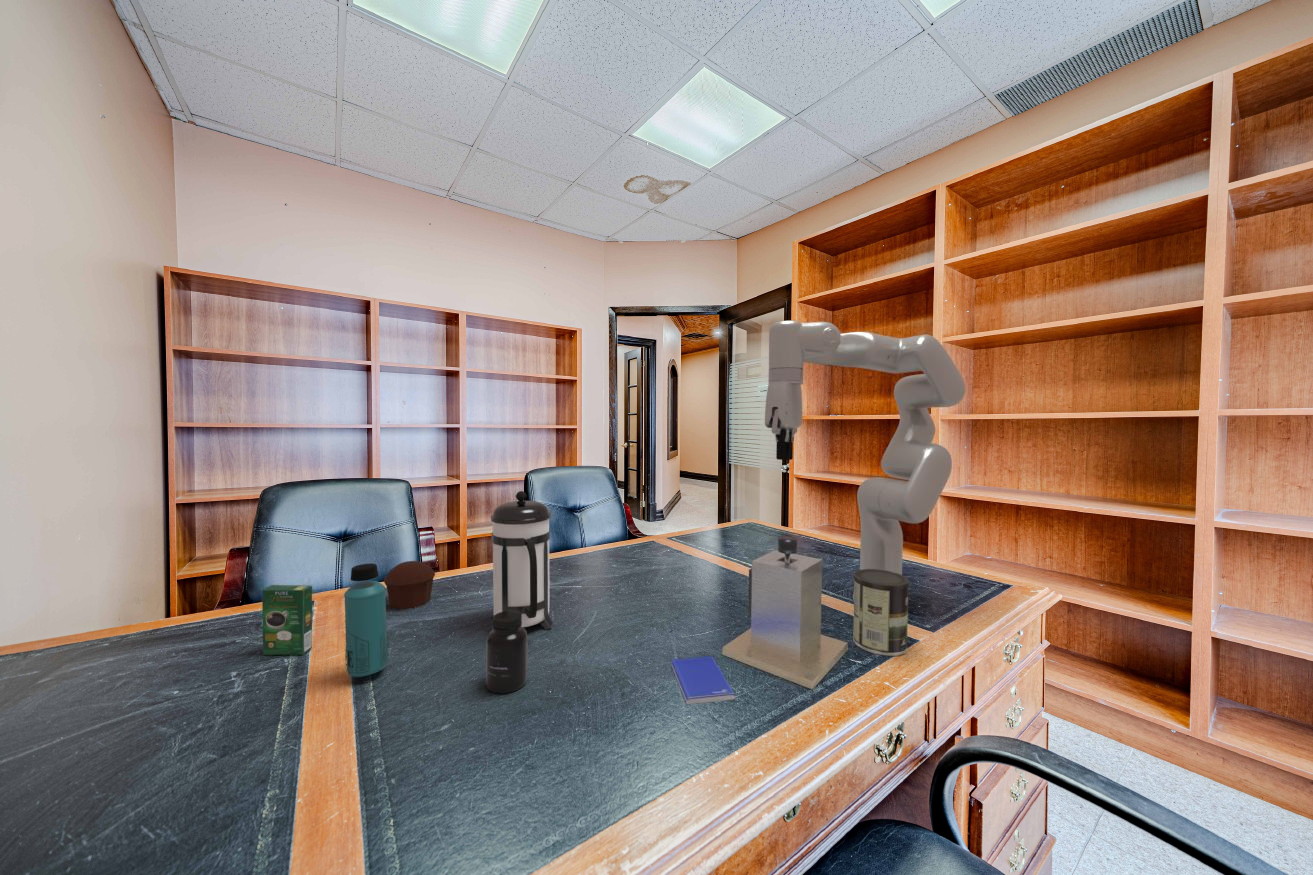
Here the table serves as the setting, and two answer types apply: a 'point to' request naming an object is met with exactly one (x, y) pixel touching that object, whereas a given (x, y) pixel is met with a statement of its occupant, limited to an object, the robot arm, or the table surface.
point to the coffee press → (521, 560)
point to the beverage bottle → (365, 623)
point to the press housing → (786, 621)
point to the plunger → (787, 546)
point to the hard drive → (701, 680)
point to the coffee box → (287, 619)
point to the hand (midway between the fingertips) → (784, 459)
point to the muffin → (409, 584)
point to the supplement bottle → (506, 653)
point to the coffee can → (880, 612)
